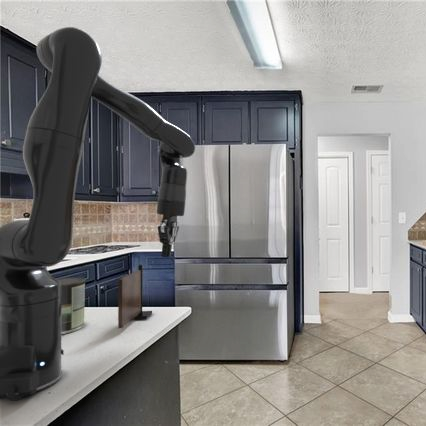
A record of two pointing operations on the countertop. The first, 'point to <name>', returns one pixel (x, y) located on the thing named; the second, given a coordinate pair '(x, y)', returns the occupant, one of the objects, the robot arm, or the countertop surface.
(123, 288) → the door
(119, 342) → the countertop surface
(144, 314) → the hinge post
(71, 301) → the coffee can
